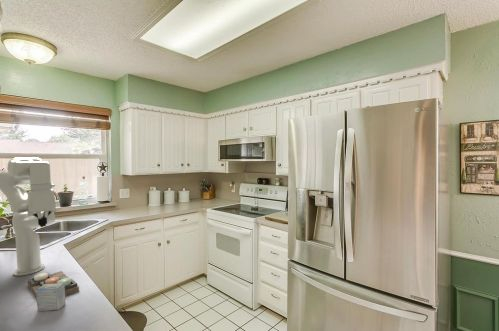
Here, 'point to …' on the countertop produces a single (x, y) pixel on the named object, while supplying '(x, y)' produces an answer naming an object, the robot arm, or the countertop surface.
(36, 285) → the button panel
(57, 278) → the terracotta button
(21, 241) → the robot arm
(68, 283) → the sage button
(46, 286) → the medicine box
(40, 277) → the cream button
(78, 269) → the countertop surface
